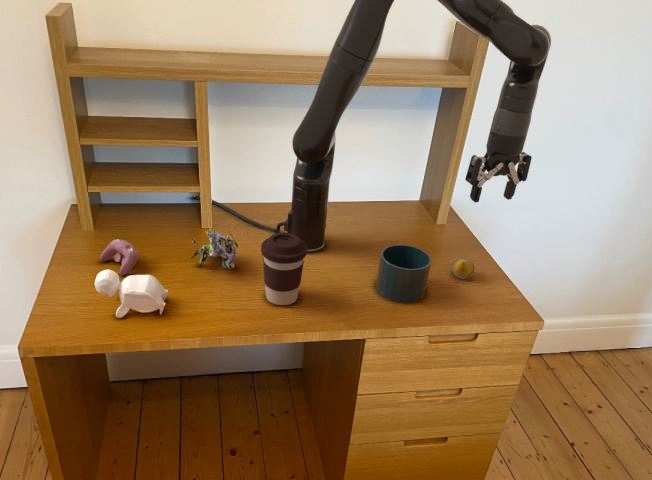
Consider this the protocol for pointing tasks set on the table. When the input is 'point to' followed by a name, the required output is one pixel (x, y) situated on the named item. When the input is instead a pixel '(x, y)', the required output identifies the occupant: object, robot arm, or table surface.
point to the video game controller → (121, 255)
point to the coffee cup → (283, 267)
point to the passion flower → (218, 249)
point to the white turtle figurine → (132, 291)
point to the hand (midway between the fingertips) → (490, 199)
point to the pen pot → (403, 273)
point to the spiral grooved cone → (463, 268)
